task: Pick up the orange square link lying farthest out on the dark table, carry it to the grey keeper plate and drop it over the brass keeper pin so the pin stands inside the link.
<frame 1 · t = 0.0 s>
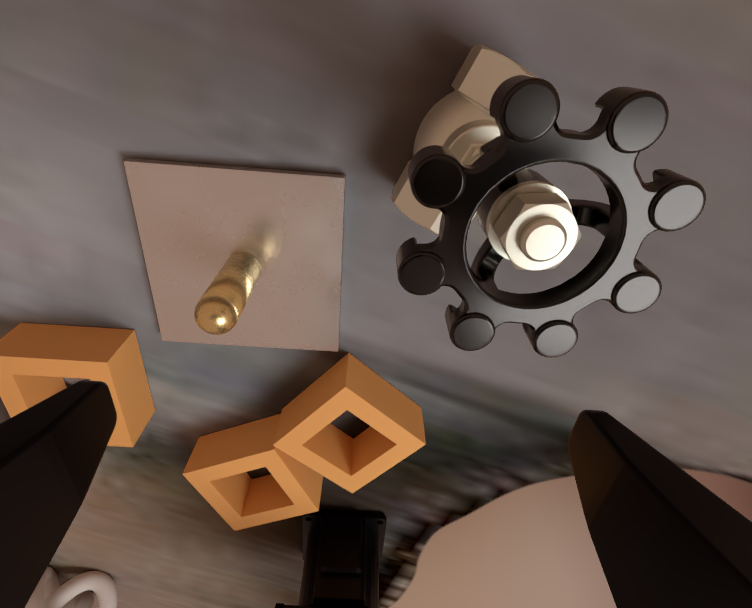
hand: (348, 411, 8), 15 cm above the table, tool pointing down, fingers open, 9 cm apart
knot: (86, 576, 40), on the table
valve: (456, 137, 20), on the table
chain link c: (351, 408, 28), on the table
keeper: (246, 263, 23), on the table
end link: (92, 369, 27), on the table
chain link b: (263, 455, 31), on the table
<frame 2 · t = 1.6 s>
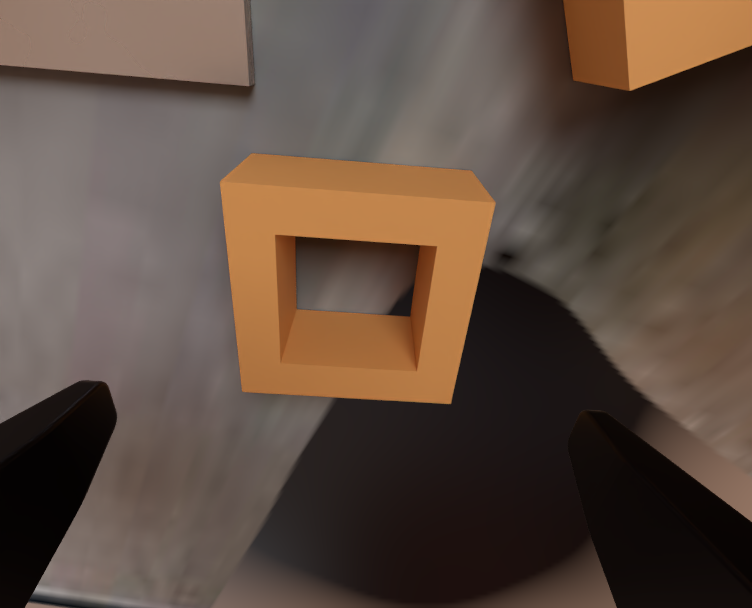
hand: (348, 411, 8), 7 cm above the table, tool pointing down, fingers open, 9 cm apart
end link: (356, 261, 14), on the table
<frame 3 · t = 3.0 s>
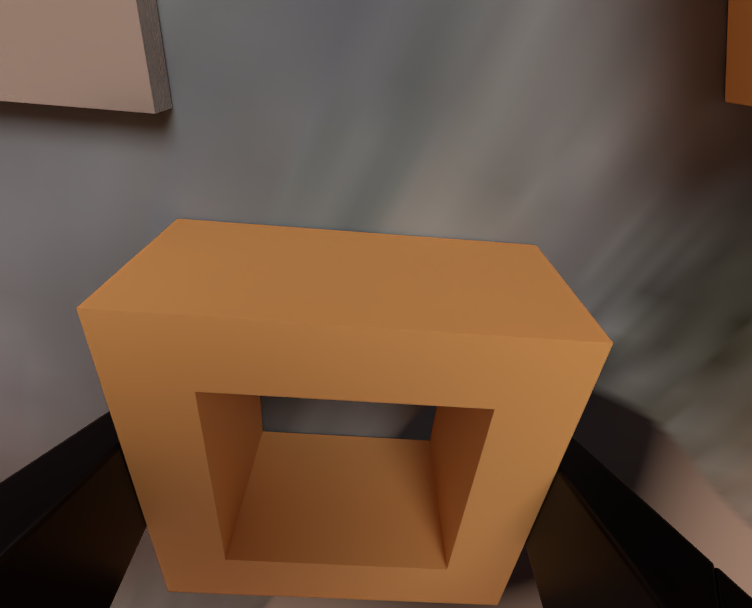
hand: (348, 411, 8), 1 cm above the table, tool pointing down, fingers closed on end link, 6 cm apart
end link: (350, 371, 9), on the table, touching gripper
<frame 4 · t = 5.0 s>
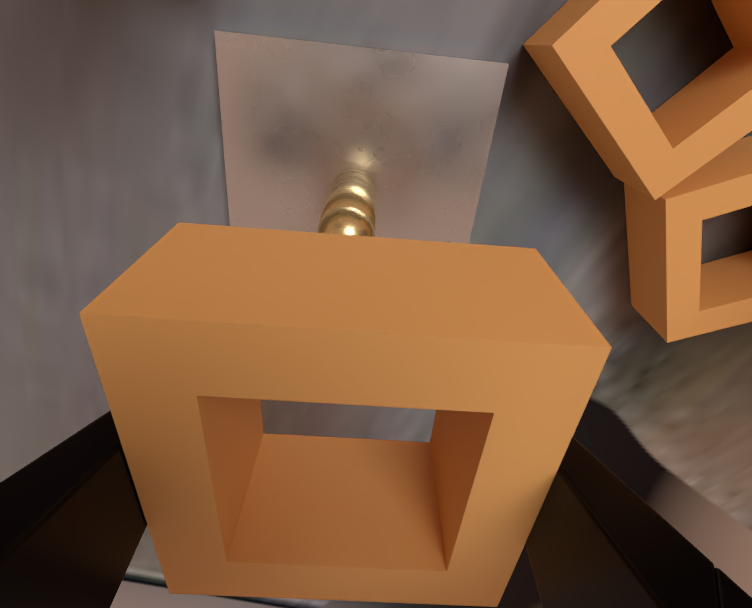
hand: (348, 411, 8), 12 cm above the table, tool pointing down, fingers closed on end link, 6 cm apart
chain link c: (652, 46, 15), on the table
keeper: (354, 188, 18), on the table
end link: (351, 373, 9), point 10 cm above the table, touching gripper
chain link b: (706, 223, 18), on the table
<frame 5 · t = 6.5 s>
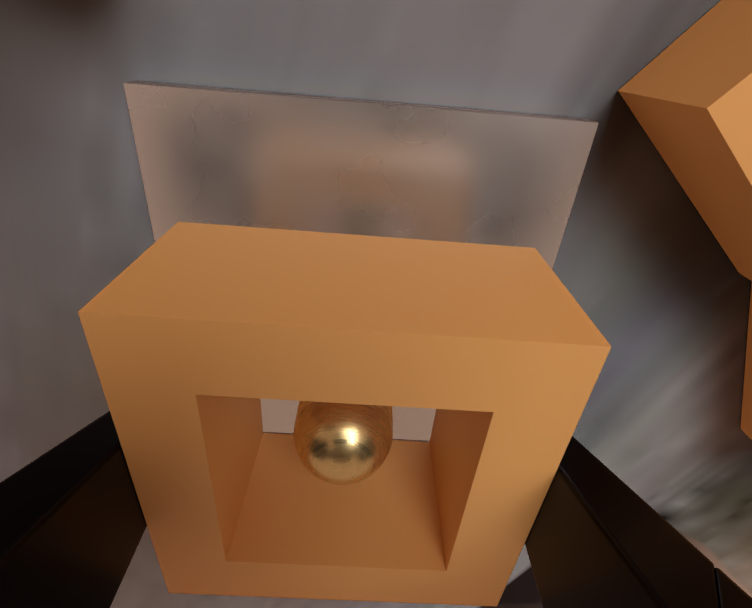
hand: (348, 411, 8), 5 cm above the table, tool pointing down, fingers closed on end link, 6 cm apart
keeper: (355, 295, 12), on the table
end link: (350, 373, 9), point 3 cm above the table, touching gripper
when the fingers open (4 cm above the table, at t = 7.3 s): end link drops 3 cm, resting on keeper.
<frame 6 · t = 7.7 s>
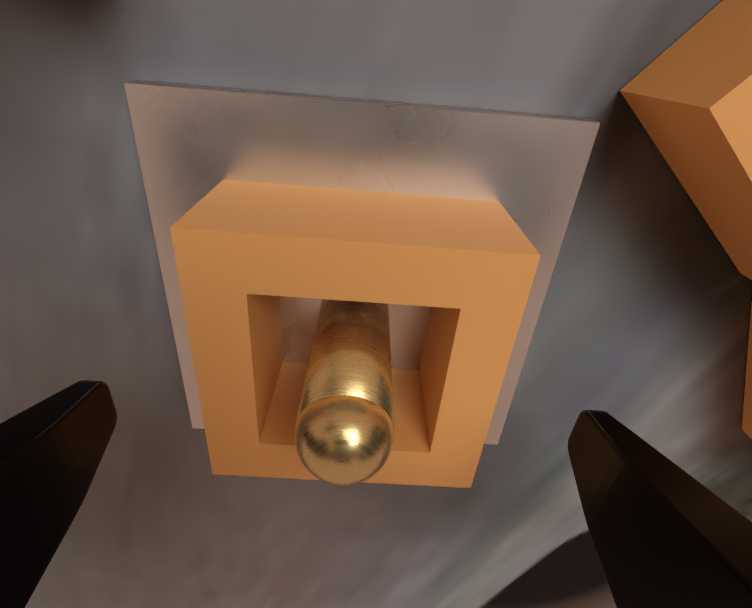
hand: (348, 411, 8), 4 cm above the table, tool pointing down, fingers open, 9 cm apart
keeper: (355, 295, 12), on the table
end link: (355, 308, 12), point 1 cm above the table, touching keeper
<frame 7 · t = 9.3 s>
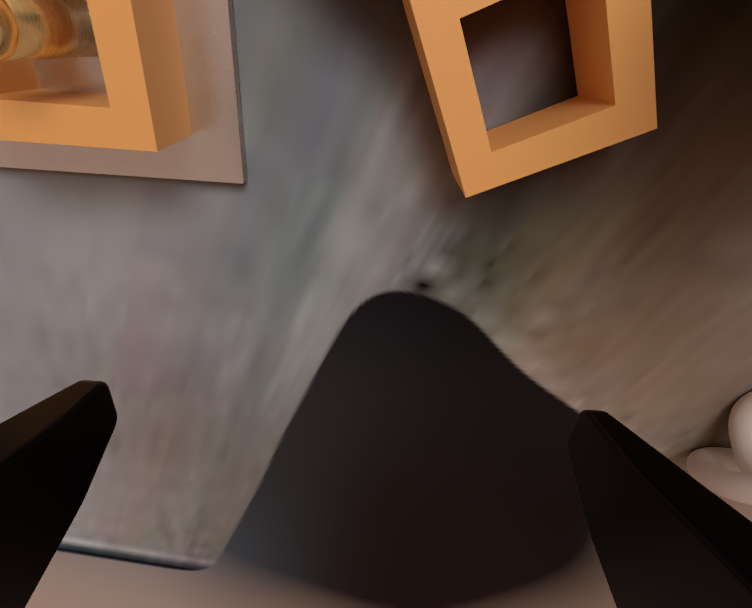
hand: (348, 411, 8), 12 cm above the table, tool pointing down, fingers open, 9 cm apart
knot: (749, 417, 25), on the table
keeper: (91, 26, 15), on the table
end link: (82, 27, 15), point 1 cm above the table, touching keeper
chain link b: (514, 60, 16), on the table
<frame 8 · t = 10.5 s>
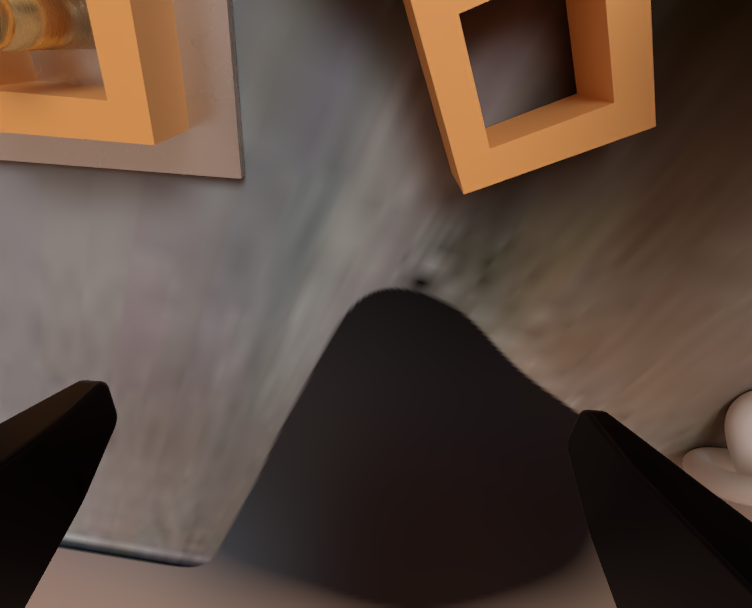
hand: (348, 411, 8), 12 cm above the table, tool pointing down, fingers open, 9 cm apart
knot: (745, 418, 25), on the table
keeper: (89, 19, 15), on the table
end link: (80, 20, 15), point 1 cm above the table, touching keeper
chain link b: (513, 57, 16), on the table
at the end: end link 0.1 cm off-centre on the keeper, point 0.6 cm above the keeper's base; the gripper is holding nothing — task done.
